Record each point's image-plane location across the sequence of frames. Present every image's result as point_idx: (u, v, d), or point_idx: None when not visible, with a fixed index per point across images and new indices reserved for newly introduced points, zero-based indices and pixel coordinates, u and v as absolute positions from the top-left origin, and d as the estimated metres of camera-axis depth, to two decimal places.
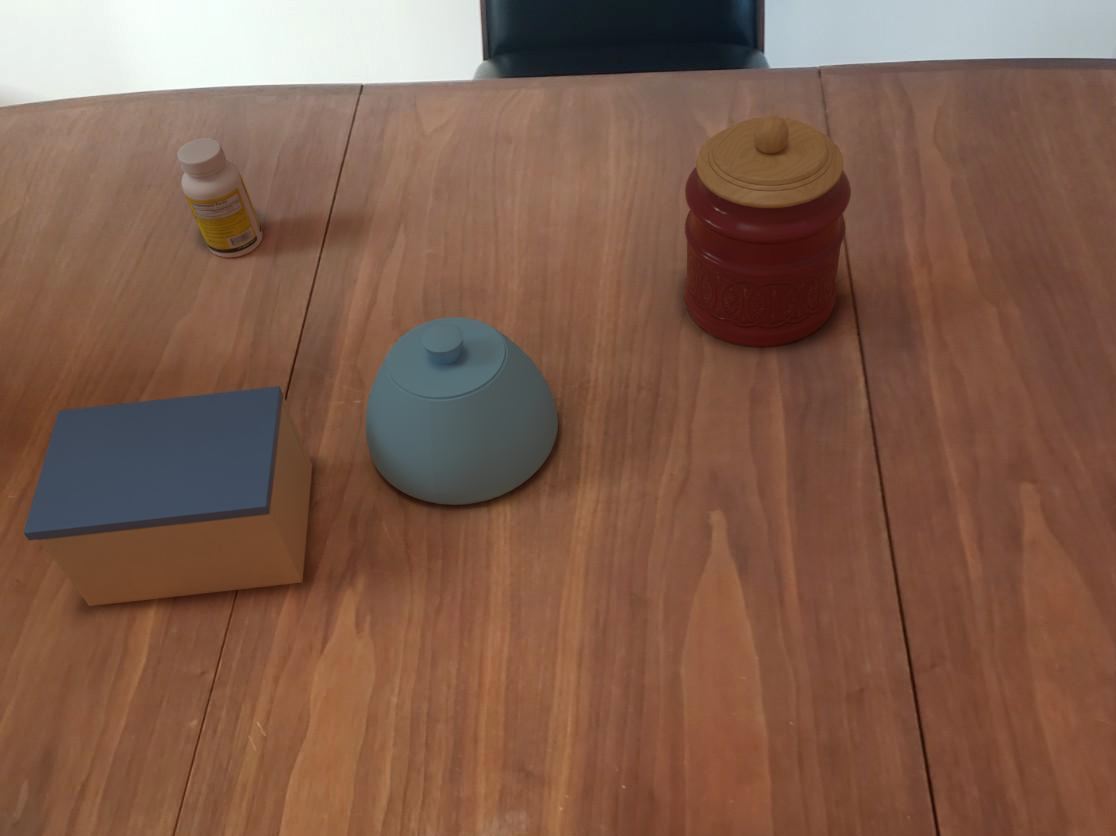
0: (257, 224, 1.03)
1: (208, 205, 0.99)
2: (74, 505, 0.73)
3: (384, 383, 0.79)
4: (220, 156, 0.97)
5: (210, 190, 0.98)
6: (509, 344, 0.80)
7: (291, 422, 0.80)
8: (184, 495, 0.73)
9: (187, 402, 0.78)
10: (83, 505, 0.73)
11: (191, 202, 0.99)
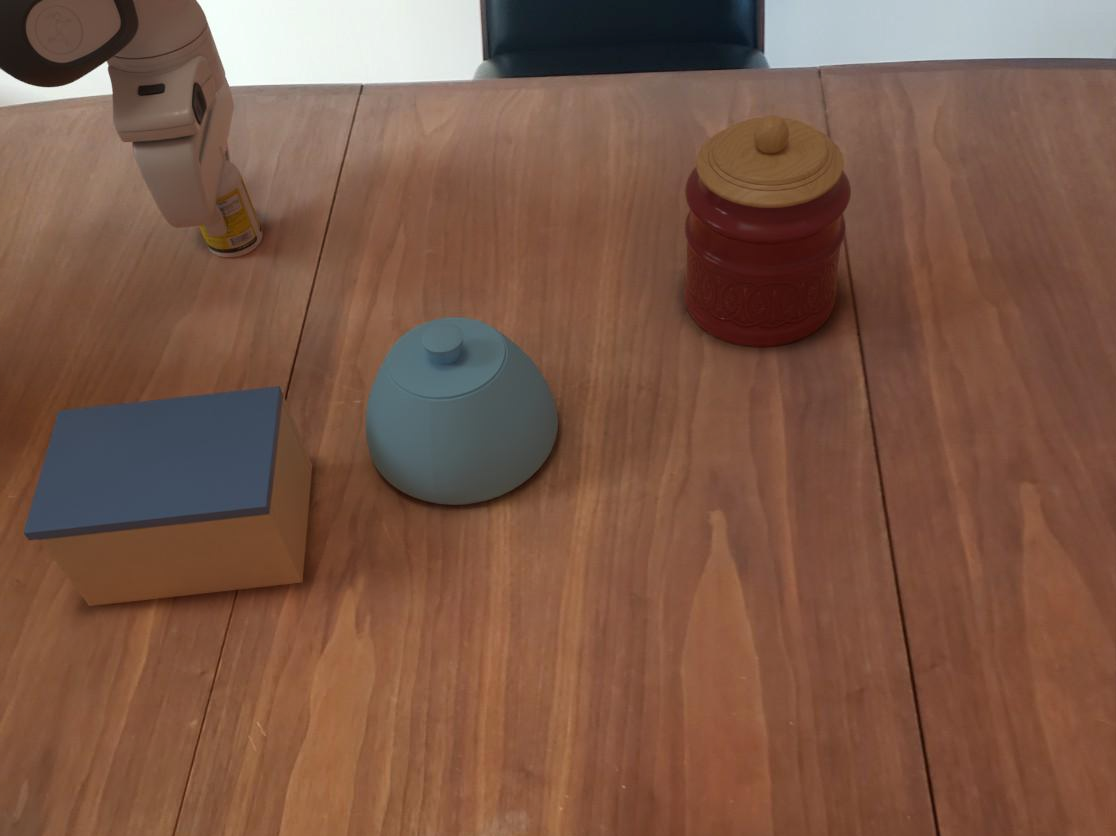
0: (257, 224, 1.03)
1: None
2: (74, 505, 0.73)
3: (384, 383, 0.79)
4: None
5: None
6: (509, 344, 0.80)
7: (291, 422, 0.80)
8: (184, 495, 0.73)
9: (187, 402, 0.78)
10: (83, 505, 0.73)
11: None
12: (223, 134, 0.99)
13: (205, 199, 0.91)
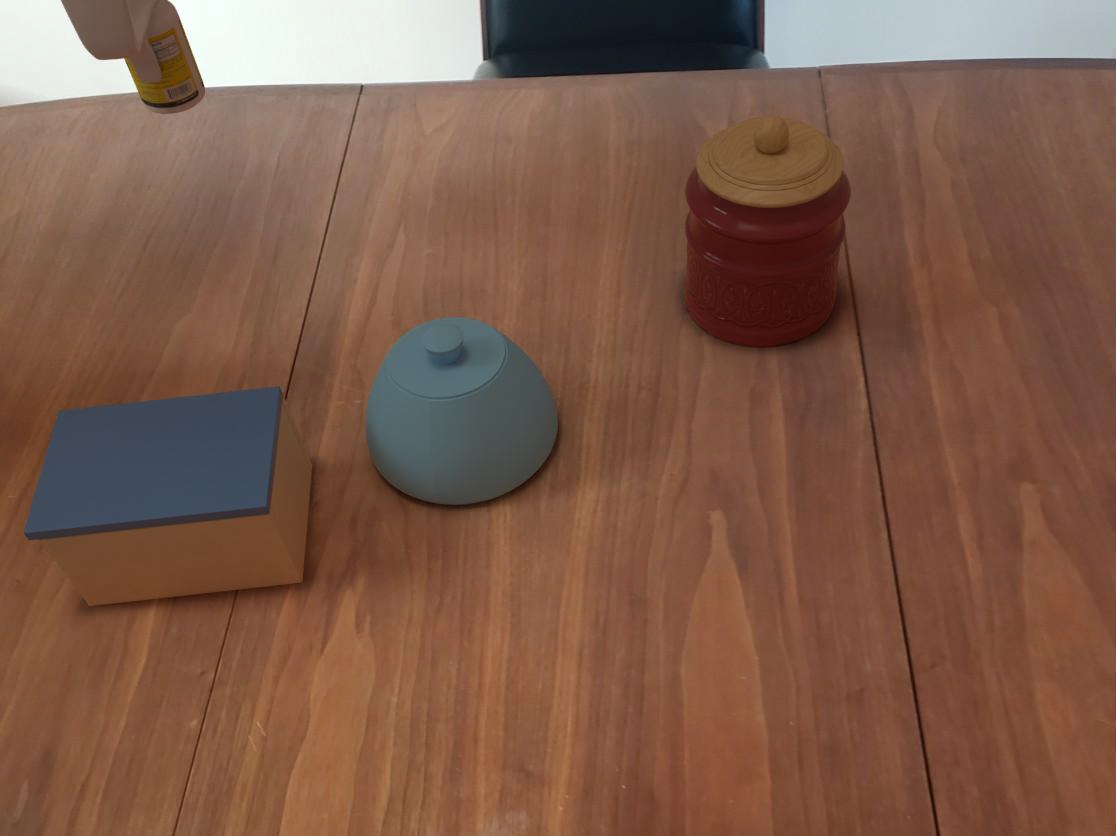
0: (198, 77, 0.92)
1: None
2: (74, 505, 0.73)
3: (384, 383, 0.79)
4: None
5: None
6: (509, 344, 0.80)
7: (291, 422, 0.80)
8: (184, 495, 0.73)
9: (187, 402, 0.78)
10: (83, 505, 0.73)
11: None
12: None
13: (131, 23, 0.79)
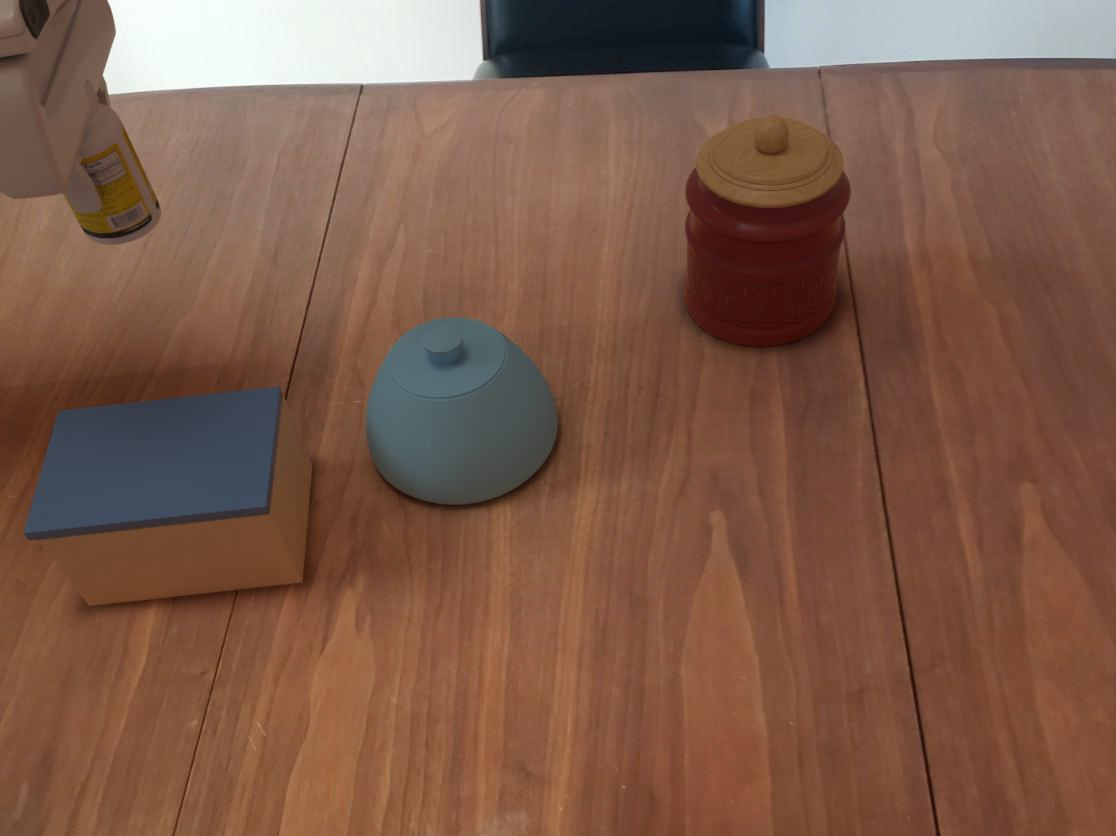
0: (152, 197, 0.73)
1: None
2: (74, 505, 0.73)
3: (384, 383, 0.79)
4: (88, 96, 0.67)
5: None
6: (509, 344, 0.80)
7: (291, 422, 0.80)
8: (184, 495, 0.73)
9: (187, 402, 0.78)
10: (83, 505, 0.73)
11: None
12: (93, 66, 0.68)
13: (52, 155, 0.60)
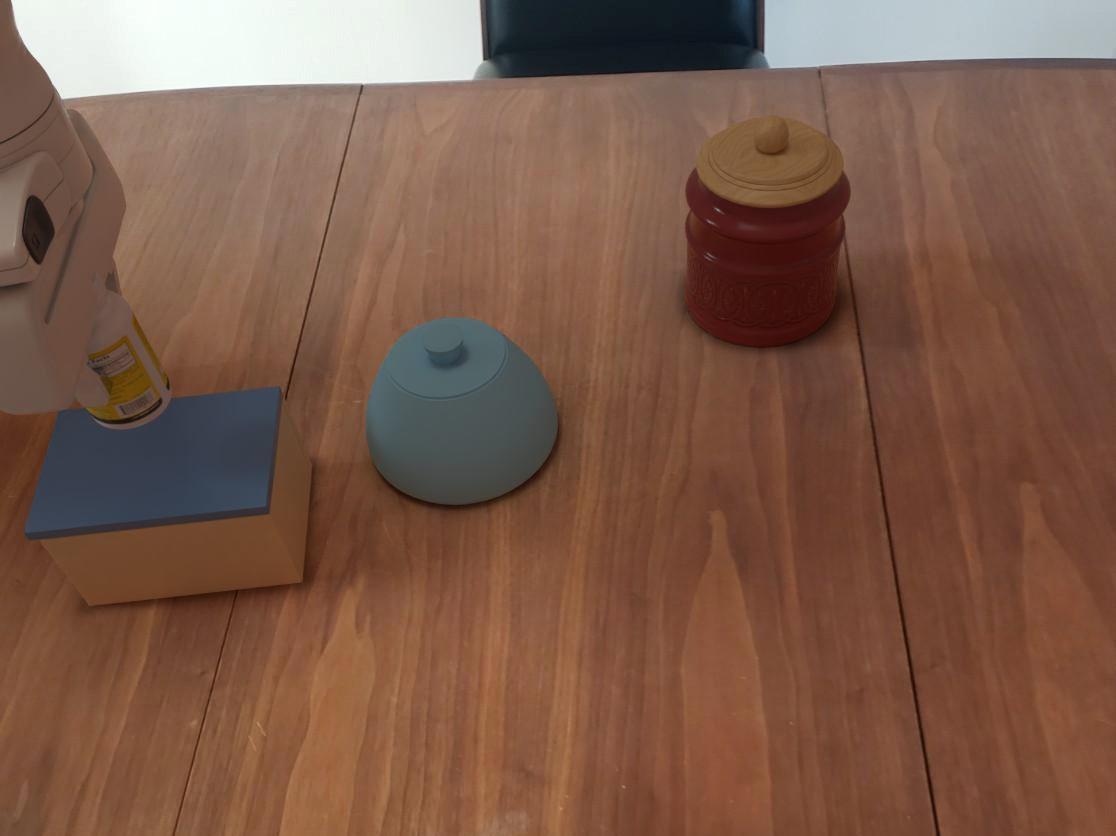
0: (162, 380, 0.69)
1: None
2: (74, 505, 0.73)
3: (384, 383, 0.79)
4: (96, 291, 0.63)
5: None
6: (509, 344, 0.80)
7: (291, 422, 0.80)
8: (184, 495, 0.73)
9: (187, 402, 0.78)
10: (83, 505, 0.73)
11: None
12: (102, 255, 0.65)
13: (56, 376, 0.57)
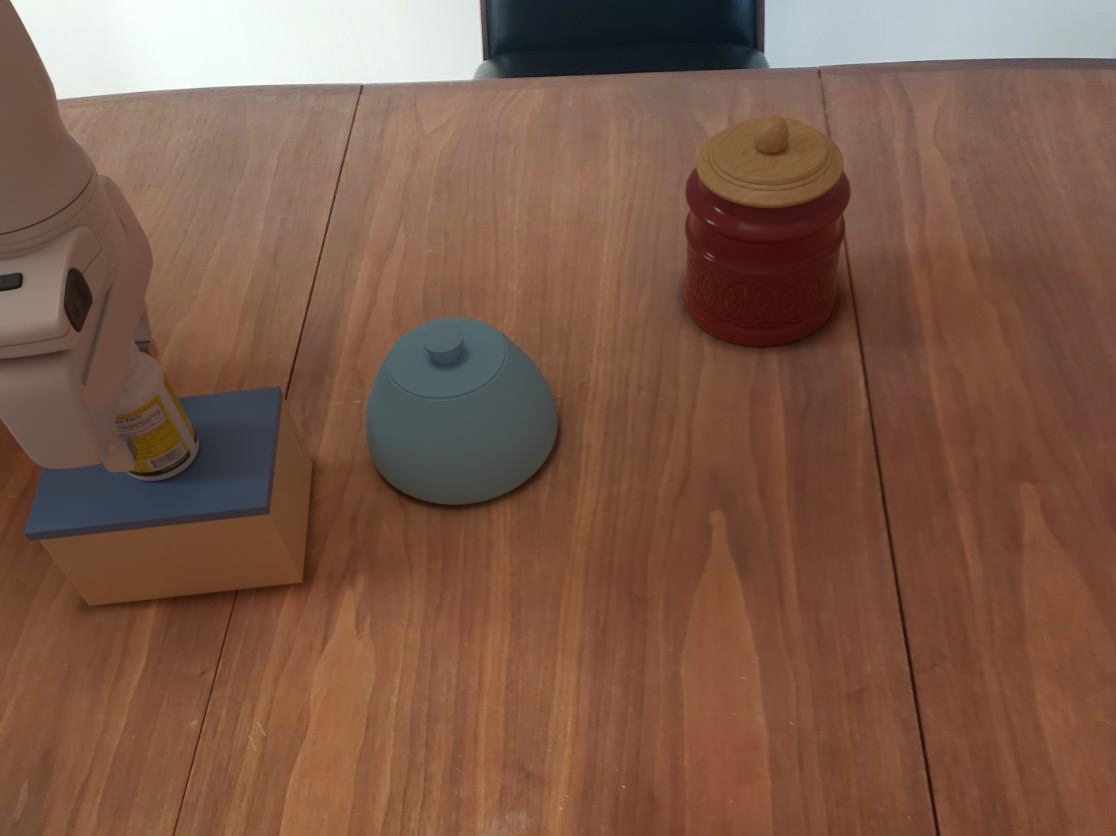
0: (190, 434, 0.73)
1: (115, 422, 0.69)
2: (75, 506, 0.73)
3: (384, 383, 0.79)
4: (130, 356, 0.67)
5: None
6: (509, 344, 0.80)
7: (291, 422, 0.80)
8: (184, 495, 0.73)
9: (187, 402, 0.78)
10: (83, 506, 0.73)
11: None
12: (132, 313, 0.68)
13: (93, 434, 0.60)
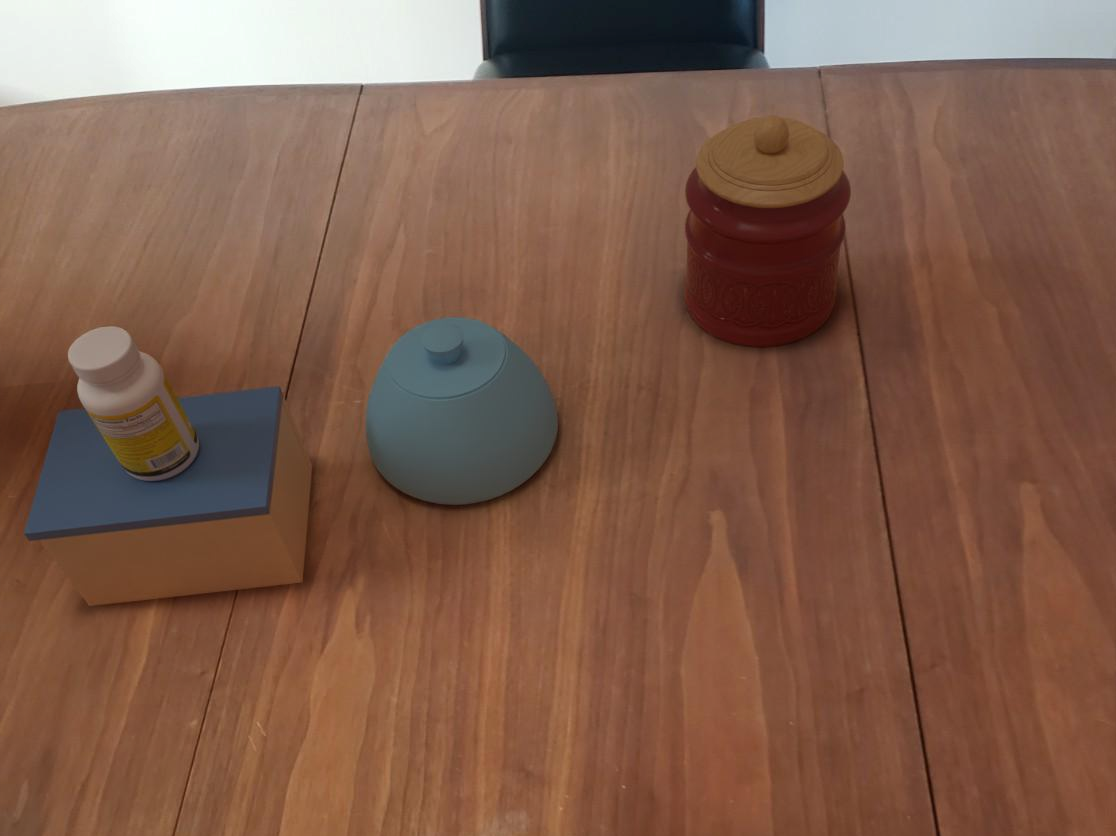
0: (190, 434, 0.73)
1: (115, 422, 0.69)
2: (75, 506, 0.73)
3: (384, 383, 0.79)
4: (130, 356, 0.67)
5: (116, 403, 0.68)
6: (509, 344, 0.80)
7: (291, 422, 0.80)
8: (184, 495, 0.73)
9: (187, 402, 0.78)
10: (83, 506, 0.73)
11: (92, 417, 0.69)
12: None
13: None
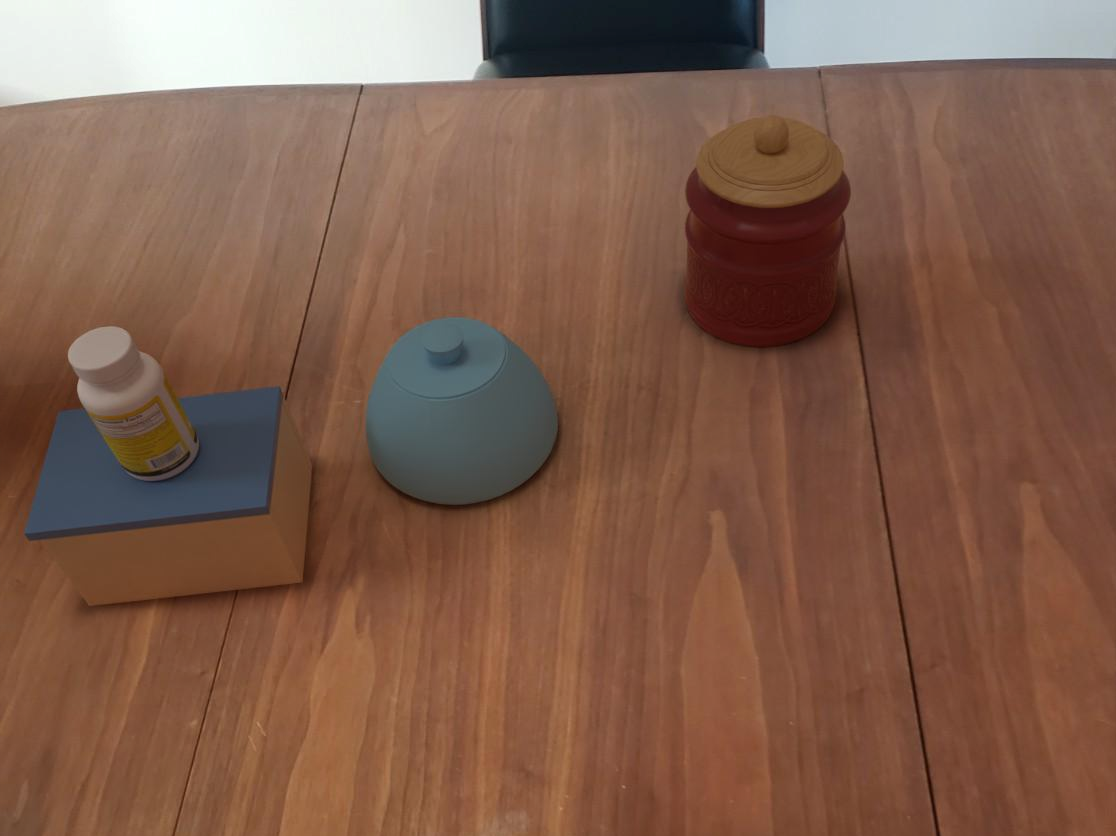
0: (190, 434, 0.73)
1: (115, 422, 0.69)
2: (75, 506, 0.73)
3: (384, 383, 0.79)
4: (130, 356, 0.67)
5: (116, 403, 0.68)
6: (509, 344, 0.80)
7: (291, 422, 0.80)
8: (184, 495, 0.73)
9: (187, 402, 0.78)
10: (83, 506, 0.73)
11: (92, 417, 0.69)
12: None
13: None
